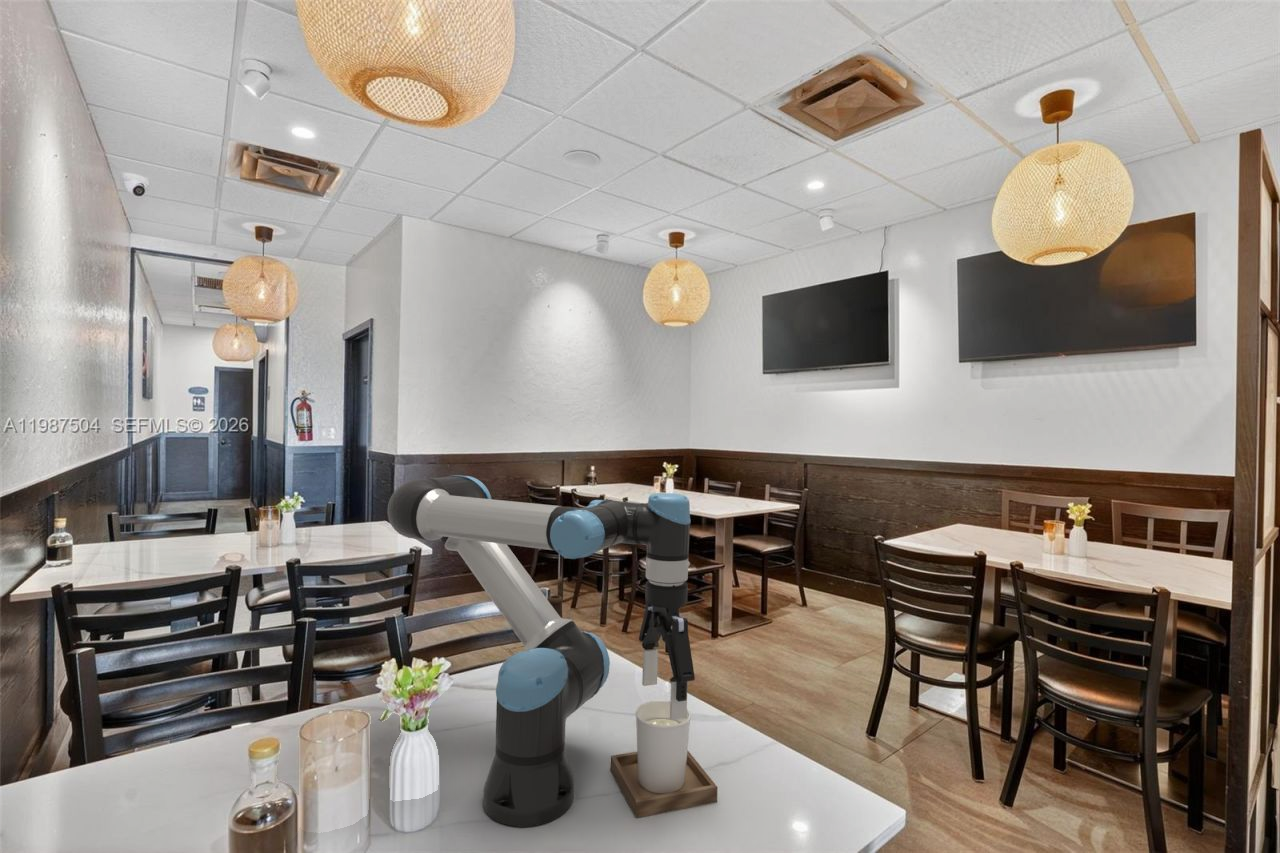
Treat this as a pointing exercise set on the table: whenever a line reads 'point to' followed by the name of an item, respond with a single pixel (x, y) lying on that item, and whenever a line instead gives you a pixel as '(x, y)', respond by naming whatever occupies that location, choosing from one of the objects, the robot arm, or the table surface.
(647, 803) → the tray
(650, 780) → the candle holder
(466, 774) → the table surface
